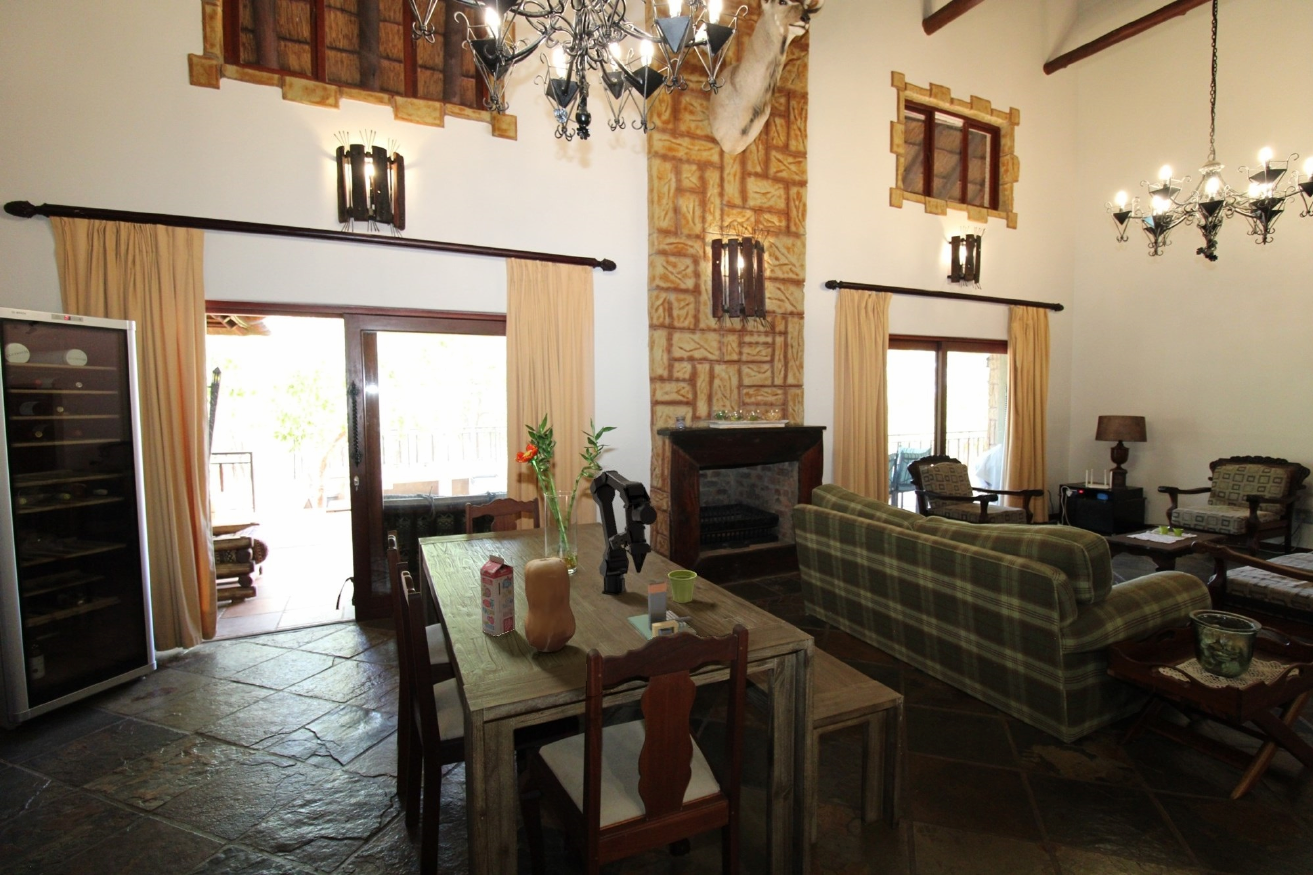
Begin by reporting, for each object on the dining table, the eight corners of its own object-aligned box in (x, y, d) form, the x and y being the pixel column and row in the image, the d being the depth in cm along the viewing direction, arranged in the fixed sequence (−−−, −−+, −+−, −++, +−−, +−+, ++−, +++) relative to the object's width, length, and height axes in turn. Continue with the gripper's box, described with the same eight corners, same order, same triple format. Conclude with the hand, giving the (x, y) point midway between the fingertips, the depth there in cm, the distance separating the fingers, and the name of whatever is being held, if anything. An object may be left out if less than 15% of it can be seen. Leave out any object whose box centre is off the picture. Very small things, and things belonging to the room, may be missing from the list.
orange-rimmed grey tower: (648, 628, 175) (647, 583, 174) (688, 620, 180) (688, 577, 179) (658, 637, 168) (658, 592, 167) (700, 629, 173) (700, 585, 172)
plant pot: (694, 606, 195) (694, 579, 194) (665, 604, 197) (665, 578, 196) (698, 596, 204) (698, 570, 203) (671, 594, 206) (670, 569, 205)
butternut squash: (543, 636, 172) (541, 549, 170) (585, 643, 167) (583, 554, 165) (514, 656, 160) (511, 563, 157) (558, 664, 154) (555, 568, 152)
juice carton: (501, 624, 181) (498, 552, 179) (515, 629, 177) (512, 555, 175) (482, 631, 176) (479, 557, 174) (496, 637, 172) (493, 561, 170)
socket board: (627, 620, 183) (627, 606, 183) (669, 612, 189) (669, 599, 189) (650, 643, 167) (650, 628, 167) (696, 634, 172) (696, 619, 172)
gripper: (606, 522, 199) (609, 570, 198) (612, 528, 181) (616, 581, 180) (640, 519, 201) (643, 567, 200) (649, 524, 183) (653, 577, 182)
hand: (638, 572), depth 191 cm, fingers closed
